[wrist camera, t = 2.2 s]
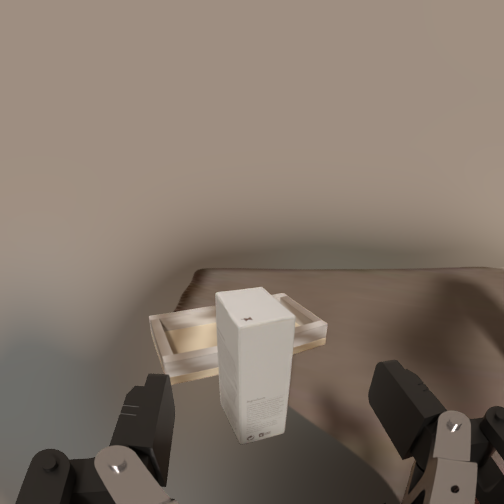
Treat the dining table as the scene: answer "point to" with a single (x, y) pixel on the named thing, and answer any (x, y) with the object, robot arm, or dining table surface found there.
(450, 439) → the robot arm
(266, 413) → the skincare box
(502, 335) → the dining table surface
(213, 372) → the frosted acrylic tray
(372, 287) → the dining table surface
